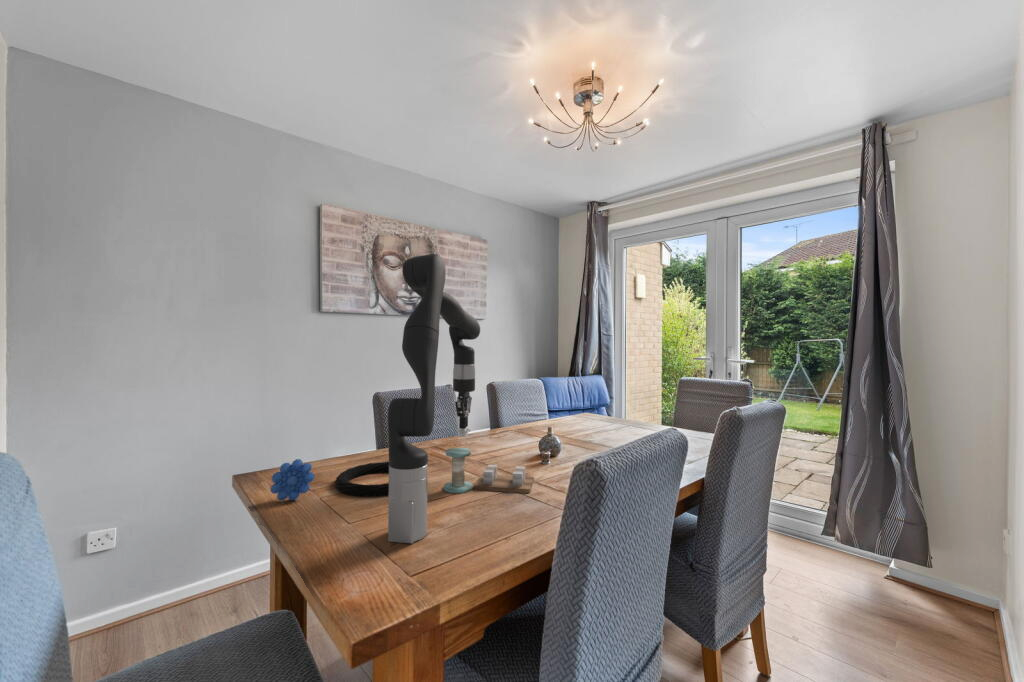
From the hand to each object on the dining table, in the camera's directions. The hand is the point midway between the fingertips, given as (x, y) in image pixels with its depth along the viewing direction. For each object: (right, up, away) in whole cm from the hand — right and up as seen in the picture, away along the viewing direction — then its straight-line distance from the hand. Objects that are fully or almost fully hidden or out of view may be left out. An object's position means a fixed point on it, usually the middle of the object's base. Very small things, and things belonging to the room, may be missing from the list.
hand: (463, 427), depth 152 cm
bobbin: (-1, -17, -11) cm, 20 cm away
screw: (0, -3, 0) cm, 3 cm away
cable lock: (-27, -18, -5) cm, 33 cm away
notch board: (+14, -17, -7) cm, 24 cm away
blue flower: (-48, -17, -22) cm, 55 cm away
